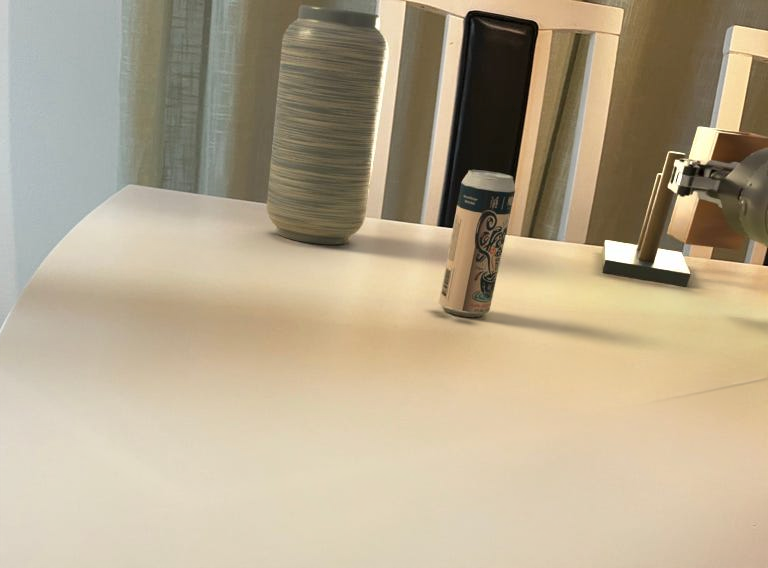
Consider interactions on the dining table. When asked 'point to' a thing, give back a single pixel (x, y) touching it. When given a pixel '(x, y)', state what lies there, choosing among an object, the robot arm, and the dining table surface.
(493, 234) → the drink can
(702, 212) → the sleeve
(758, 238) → the robot arm
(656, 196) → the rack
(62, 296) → the dining table surface
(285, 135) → the vase
